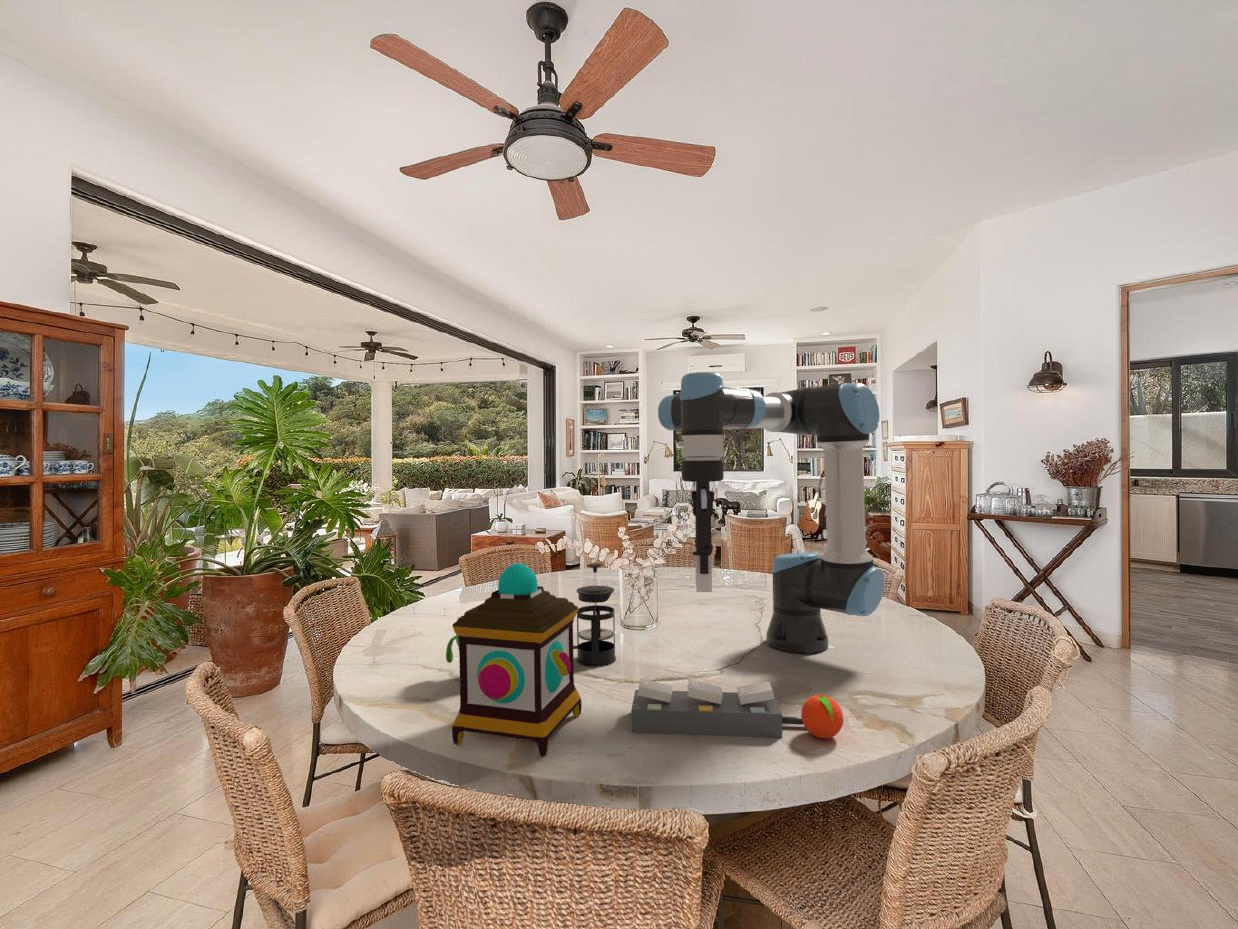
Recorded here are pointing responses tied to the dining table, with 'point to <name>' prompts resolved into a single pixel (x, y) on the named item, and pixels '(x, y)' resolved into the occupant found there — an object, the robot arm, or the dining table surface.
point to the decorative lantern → (516, 662)
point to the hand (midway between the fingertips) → (703, 587)
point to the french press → (595, 625)
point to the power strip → (708, 716)
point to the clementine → (822, 716)
